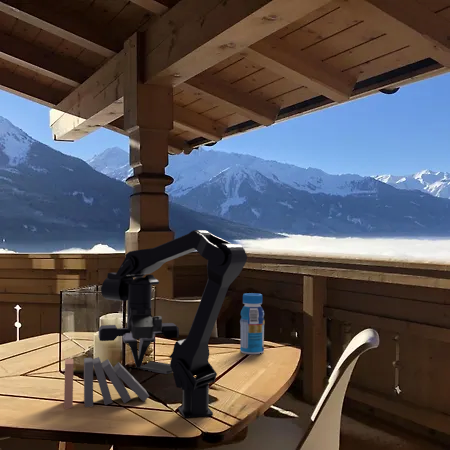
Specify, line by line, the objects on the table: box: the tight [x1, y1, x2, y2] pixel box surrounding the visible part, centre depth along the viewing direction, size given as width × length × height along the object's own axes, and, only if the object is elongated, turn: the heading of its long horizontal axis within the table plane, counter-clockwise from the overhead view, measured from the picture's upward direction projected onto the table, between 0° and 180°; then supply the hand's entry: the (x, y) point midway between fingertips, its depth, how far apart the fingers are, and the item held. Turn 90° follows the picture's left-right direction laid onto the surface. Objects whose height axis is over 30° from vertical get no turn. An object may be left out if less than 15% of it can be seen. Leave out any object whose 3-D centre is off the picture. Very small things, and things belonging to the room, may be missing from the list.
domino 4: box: [101, 358, 132, 404], centre depth 122 cm, size 2×5×10 cm
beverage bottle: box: [239, 292, 266, 355], centre depth 178 cm, size 8×8×20 cm
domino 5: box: [112, 361, 150, 403], centre depth 123 cm, size 2×5×10 cm
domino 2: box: [83, 357, 94, 408], centre depth 120 cm, size 2×5×10 cm, turn 18°
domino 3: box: [92, 356, 113, 406], centre depth 121 cm, size 2×5×10 cm, turn 17°
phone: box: [140, 360, 173, 375], centre depth 154 cm, size 8×1×15 cm
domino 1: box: [63, 358, 74, 410], centre depth 119 cm, size 2×5×10 cm, turn 17°
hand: (138, 367), depth 124 cm, fingers closed
